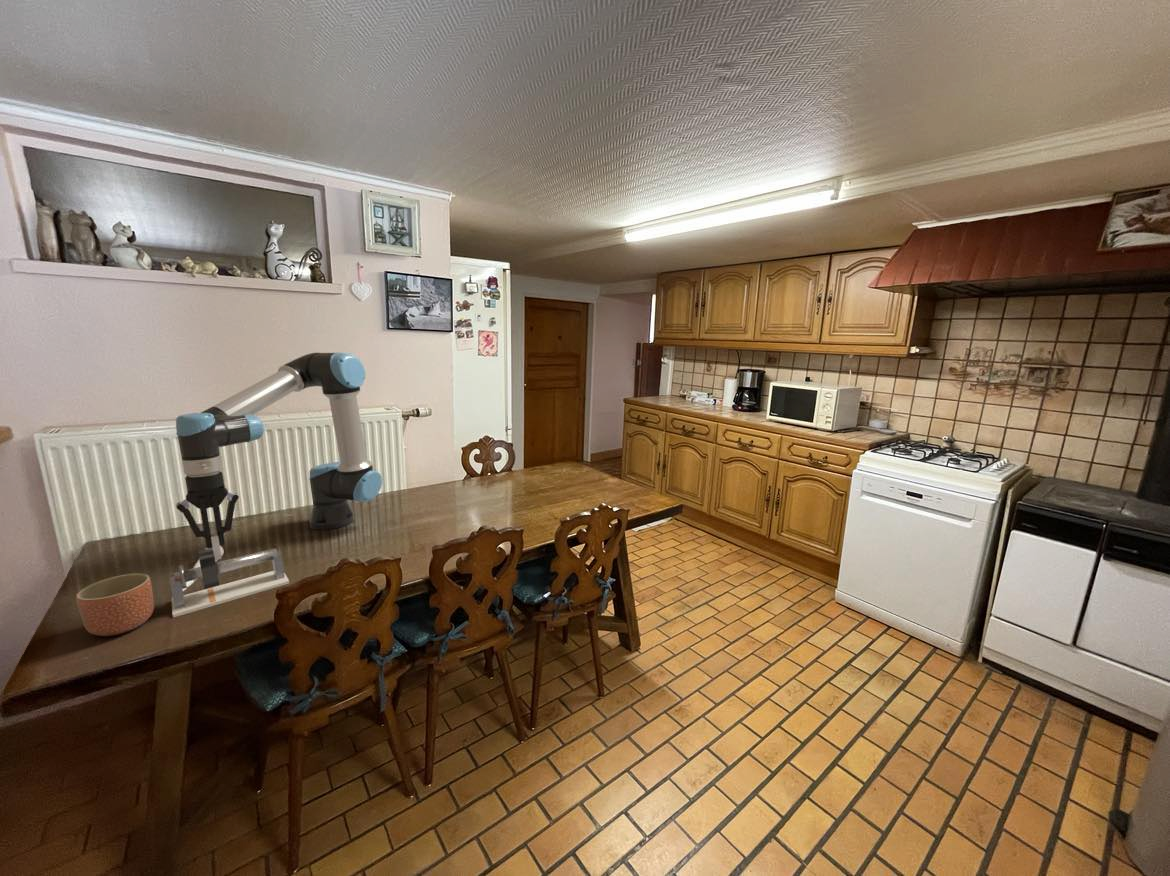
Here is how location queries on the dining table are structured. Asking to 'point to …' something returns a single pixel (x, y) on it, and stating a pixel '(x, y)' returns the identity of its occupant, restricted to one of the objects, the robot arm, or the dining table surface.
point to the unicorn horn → (199, 566)
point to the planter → (116, 604)
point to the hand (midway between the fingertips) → (217, 557)
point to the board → (228, 592)
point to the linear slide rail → (192, 574)
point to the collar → (208, 568)
